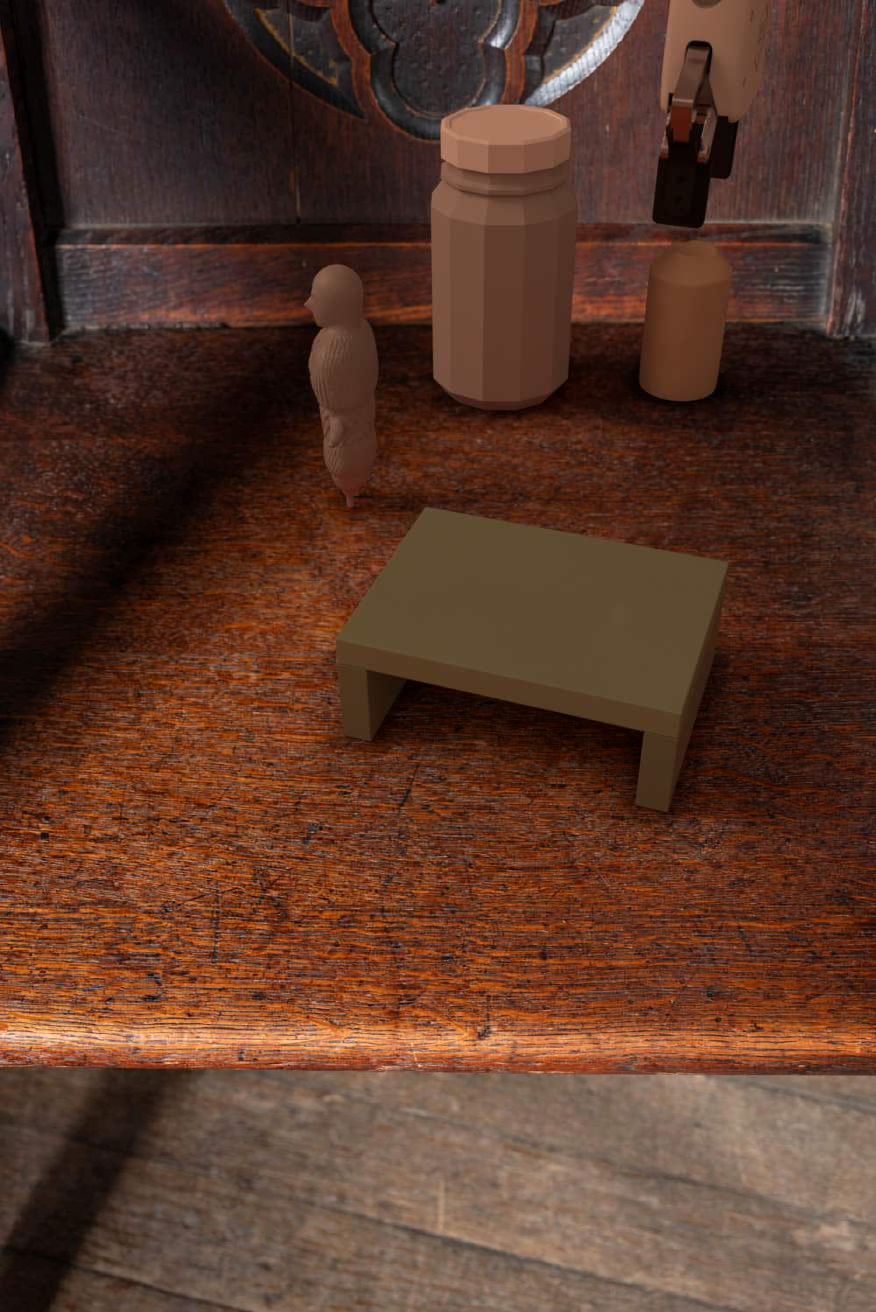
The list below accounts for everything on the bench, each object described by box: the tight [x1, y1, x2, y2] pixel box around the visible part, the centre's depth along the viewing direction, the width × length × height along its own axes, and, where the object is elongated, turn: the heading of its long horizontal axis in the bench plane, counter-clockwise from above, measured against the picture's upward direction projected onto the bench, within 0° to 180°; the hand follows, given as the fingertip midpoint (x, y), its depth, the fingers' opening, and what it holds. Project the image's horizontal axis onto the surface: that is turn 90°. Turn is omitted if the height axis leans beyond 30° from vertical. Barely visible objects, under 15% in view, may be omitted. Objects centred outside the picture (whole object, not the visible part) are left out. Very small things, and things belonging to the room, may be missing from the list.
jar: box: [430, 104, 579, 411], centre depth 84 cm, size 10×10×18 cm
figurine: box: [303, 263, 379, 509], centre depth 73 cm, size 9×4×15 cm, turn 168°
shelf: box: [335, 506, 730, 813], centre depth 62 cm, size 16×12×6 cm
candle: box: [638, 239, 734, 402], centre depth 87 cm, size 6×6×10 cm
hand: (692, 199), depth 82 cm, fingers open, 9 cm apart
